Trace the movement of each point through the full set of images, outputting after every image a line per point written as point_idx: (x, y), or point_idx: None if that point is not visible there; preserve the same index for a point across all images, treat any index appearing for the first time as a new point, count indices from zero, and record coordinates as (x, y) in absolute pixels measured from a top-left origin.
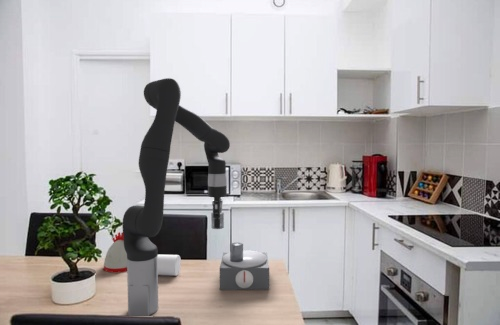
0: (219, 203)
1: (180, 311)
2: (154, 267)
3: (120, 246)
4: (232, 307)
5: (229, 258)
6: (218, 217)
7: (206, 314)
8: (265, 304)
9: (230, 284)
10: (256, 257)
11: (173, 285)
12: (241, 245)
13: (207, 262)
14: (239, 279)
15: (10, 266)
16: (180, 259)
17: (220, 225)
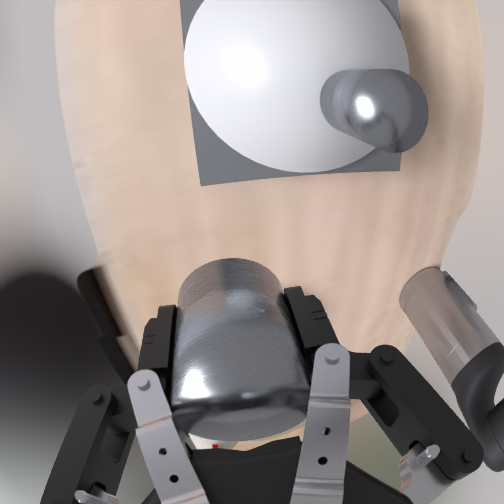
0: (398, 502)
1: (443, 224)
2: (487, 326)
3: (232, 442)
4: (447, 112)
5: (330, 137)
6: (394, 355)
7: (462, 170)
8: (434, 31)
9: None
10: (309, 4)
11: (323, 282)
12: (414, 82)
13: (123, 243)
14: None
15: None
16: None
17: (279, 292)
